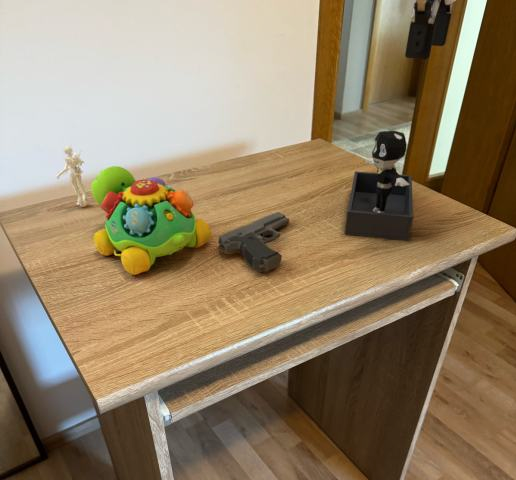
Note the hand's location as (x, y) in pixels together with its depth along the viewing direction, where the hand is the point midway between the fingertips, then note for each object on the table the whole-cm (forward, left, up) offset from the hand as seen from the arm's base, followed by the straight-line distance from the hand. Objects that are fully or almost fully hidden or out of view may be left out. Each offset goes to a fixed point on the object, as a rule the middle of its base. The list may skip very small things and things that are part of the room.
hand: (425, 51), depth 69 cm
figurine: (+61, +1, -29) cm, 68 cm away
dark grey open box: (+3, -7, -29) cm, 30 cm away
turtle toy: (+42, +12, -29) cm, 53 cm away
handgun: (+21, +9, -29) cm, 37 cm away
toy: (+3, -7, -28) cm, 29 cm away
